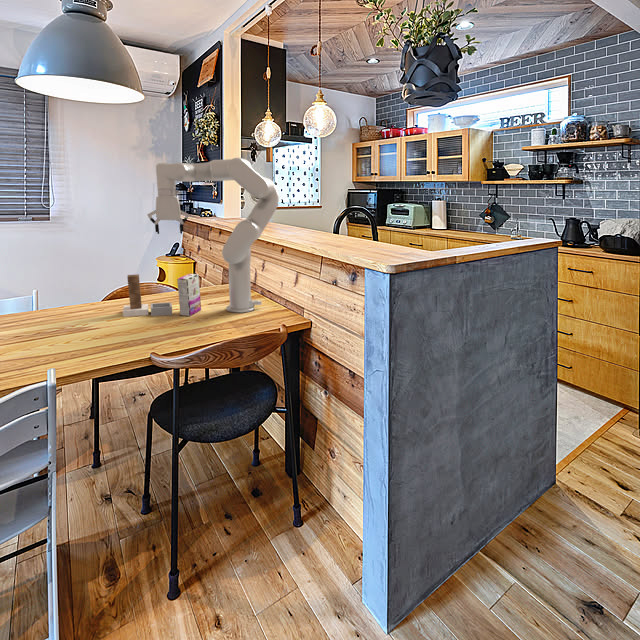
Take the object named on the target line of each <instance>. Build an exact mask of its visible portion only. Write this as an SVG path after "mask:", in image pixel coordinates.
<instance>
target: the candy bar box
mask: <svg viewBox="0 0 640 640" xmlns="http://www.w3.org/2000/svg"><path fill="white" fill-rule="evenodd" d="M176 280H177V293H178V303H179V315H180V316H181V315H183V316H182V317H191V316H193V315H195V314H197V313H199V312H201V310H202V305H201V301H202V300H201V289H200V276H199V274H198V273H196V274H195V273H188V274H186V275H183V276H180V277H178V278H177V279H176Z"/></svg>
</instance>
